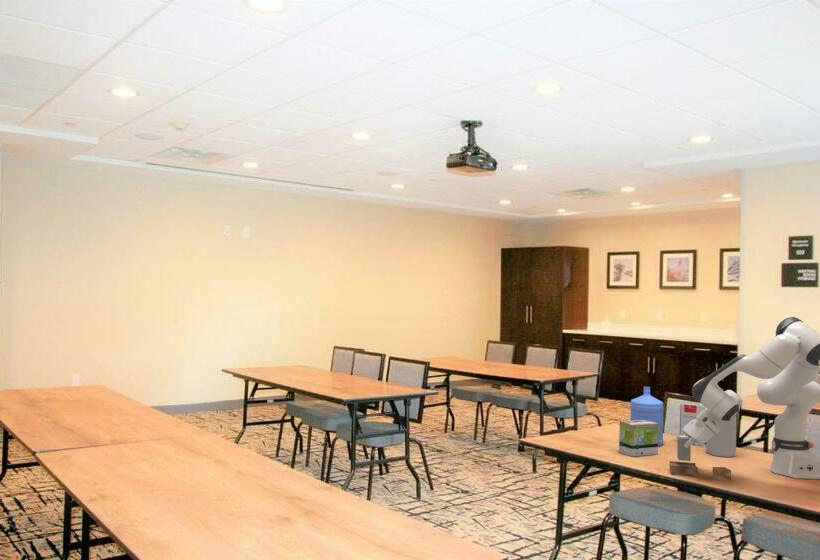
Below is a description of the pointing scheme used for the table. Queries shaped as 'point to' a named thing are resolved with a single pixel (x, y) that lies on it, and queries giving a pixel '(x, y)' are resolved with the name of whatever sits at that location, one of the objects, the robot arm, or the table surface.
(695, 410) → the hard drive box
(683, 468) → the stand
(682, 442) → the block
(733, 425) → the cylinder vase
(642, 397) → the water jug
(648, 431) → the tea box
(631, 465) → the table surface
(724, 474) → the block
